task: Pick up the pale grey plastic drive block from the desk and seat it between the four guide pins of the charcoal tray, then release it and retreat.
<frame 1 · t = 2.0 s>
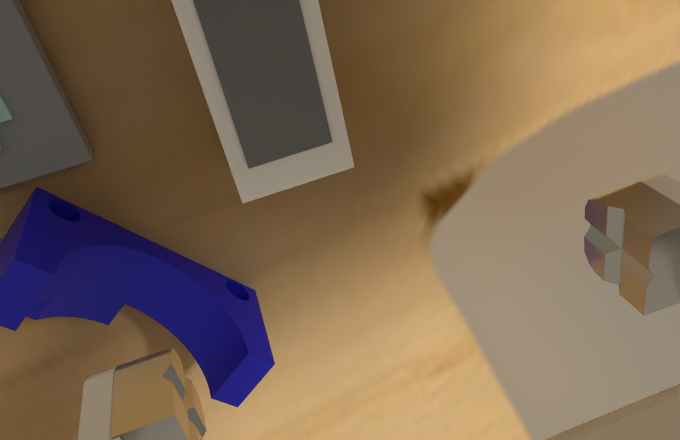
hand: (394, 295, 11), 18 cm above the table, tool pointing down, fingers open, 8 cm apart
drive: (249, 43, 26), on the table
cable clip: (132, 272, 31), on the table
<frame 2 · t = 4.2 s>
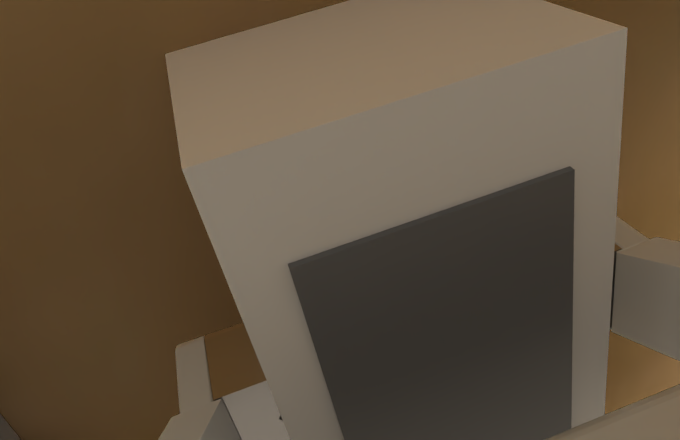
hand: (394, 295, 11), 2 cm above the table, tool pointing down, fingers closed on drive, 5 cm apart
drive: (365, 247, 13), on the table, touching gripper
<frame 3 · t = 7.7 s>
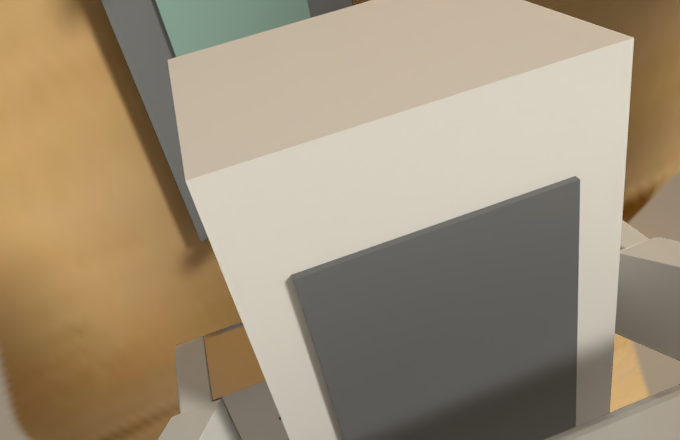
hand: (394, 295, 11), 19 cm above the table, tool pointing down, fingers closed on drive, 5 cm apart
drive: (368, 253, 13), point 17 cm above the table, touching gripper
pin tray: (244, 44, 27), on the table
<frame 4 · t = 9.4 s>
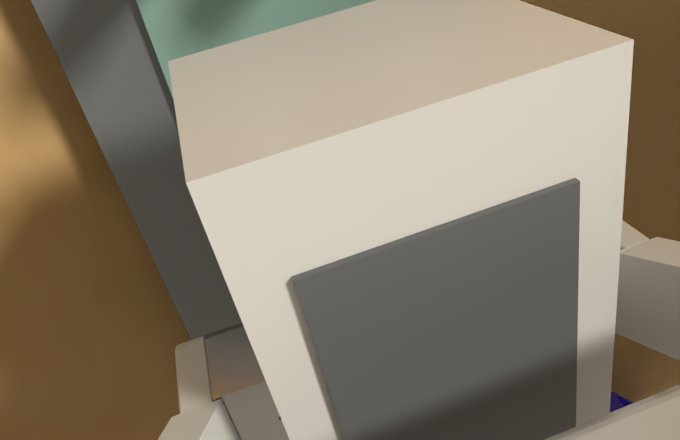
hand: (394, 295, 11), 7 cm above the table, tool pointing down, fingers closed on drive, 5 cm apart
drive: (368, 254, 13), point 5 cm above the table, touching gripper
pin tray: (309, 143, 17), on the table
when the fingers open (4 cm above the table, at t = 10.7 s): drive drops 1 cm, resting on pin tray.
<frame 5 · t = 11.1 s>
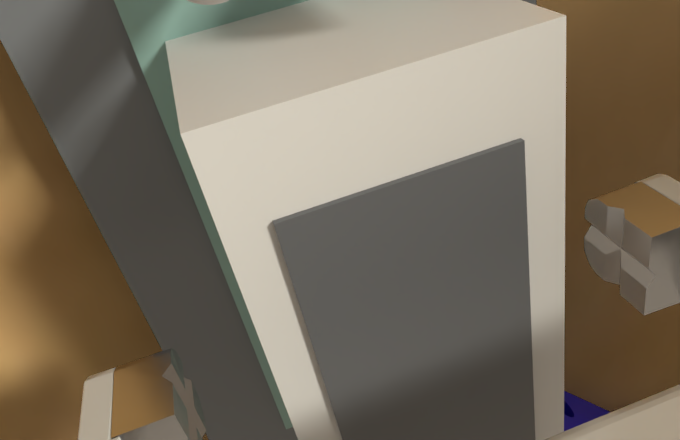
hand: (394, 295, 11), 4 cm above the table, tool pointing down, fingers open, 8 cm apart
drive: (350, 224, 14), point 1 cm above the table, touching pin tray
pin tray: (333, 197, 15), on the table
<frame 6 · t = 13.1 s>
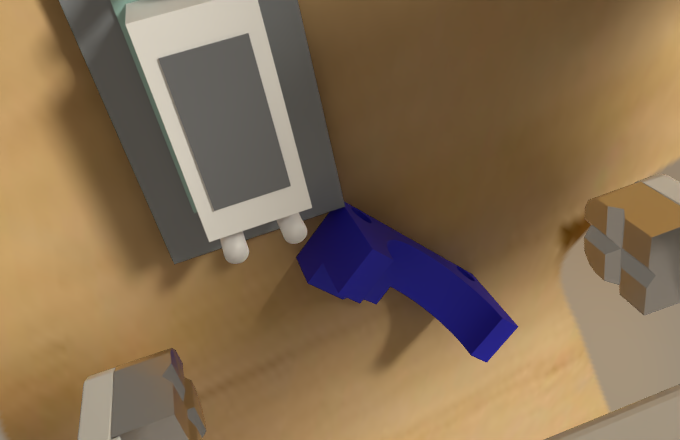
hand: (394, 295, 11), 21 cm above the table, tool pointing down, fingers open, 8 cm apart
drive: (217, 95, 29), point 1 cm above the table, touching pin tray
cable clip: (387, 263, 39), on the table
pin tray: (212, 86, 30), on the table
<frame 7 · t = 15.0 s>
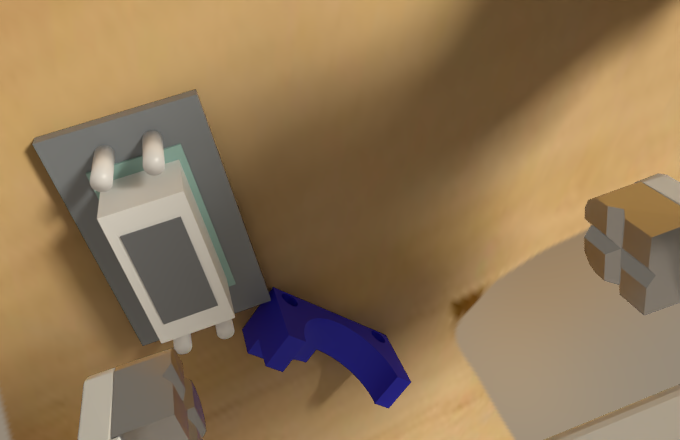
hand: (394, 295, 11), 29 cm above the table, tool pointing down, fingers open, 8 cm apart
drive: (168, 235, 40), point 1 cm above the table, touching pin tray
cable clip: (316, 329, 50), on the table
pin tray: (166, 225, 41), on the table
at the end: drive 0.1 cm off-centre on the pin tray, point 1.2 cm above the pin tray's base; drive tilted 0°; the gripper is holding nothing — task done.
